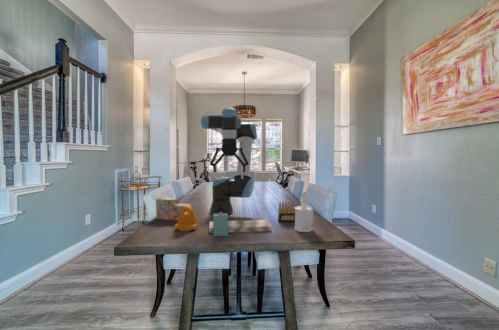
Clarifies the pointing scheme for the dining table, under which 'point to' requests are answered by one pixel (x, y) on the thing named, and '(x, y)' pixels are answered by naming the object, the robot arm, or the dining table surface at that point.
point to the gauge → (220, 224)
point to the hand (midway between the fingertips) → (229, 178)
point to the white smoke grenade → (303, 216)
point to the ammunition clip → (286, 216)
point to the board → (245, 226)
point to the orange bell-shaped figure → (187, 219)
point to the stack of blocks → (169, 208)
